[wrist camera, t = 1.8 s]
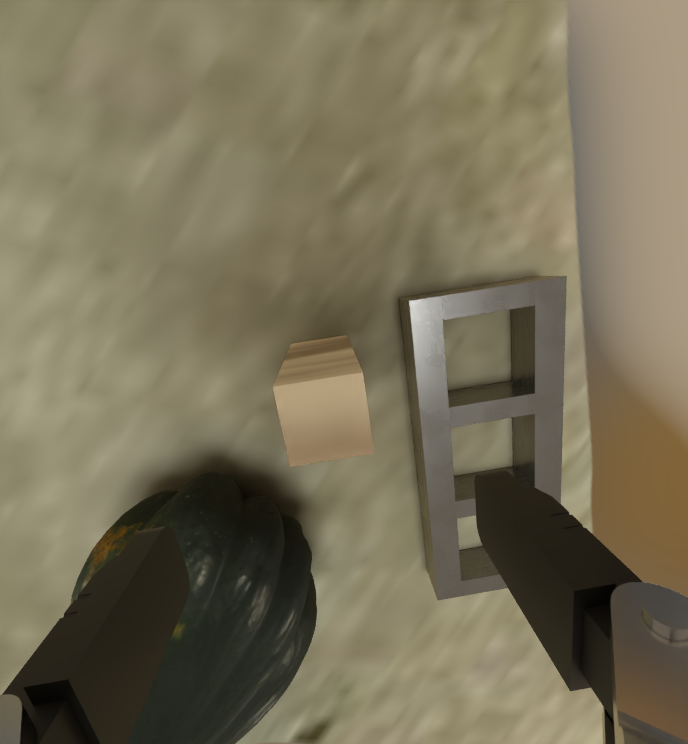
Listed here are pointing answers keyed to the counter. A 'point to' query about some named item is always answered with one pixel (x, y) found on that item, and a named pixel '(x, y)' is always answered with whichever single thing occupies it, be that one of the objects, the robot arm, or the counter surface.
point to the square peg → (322, 402)
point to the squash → (222, 610)
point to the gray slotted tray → (482, 413)
